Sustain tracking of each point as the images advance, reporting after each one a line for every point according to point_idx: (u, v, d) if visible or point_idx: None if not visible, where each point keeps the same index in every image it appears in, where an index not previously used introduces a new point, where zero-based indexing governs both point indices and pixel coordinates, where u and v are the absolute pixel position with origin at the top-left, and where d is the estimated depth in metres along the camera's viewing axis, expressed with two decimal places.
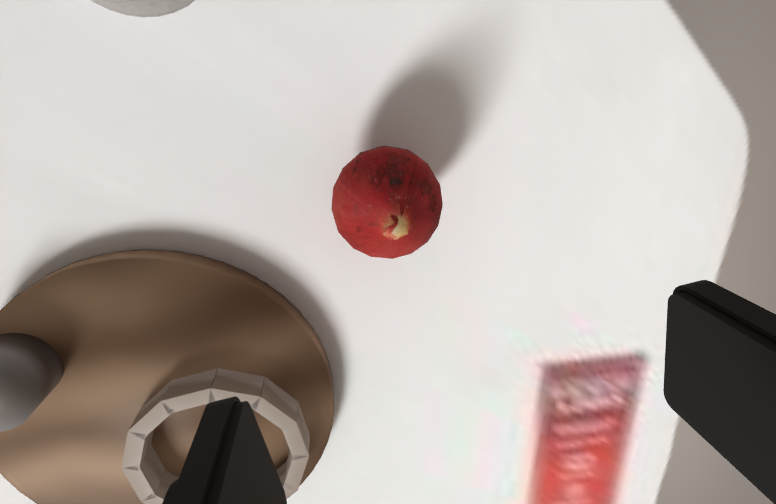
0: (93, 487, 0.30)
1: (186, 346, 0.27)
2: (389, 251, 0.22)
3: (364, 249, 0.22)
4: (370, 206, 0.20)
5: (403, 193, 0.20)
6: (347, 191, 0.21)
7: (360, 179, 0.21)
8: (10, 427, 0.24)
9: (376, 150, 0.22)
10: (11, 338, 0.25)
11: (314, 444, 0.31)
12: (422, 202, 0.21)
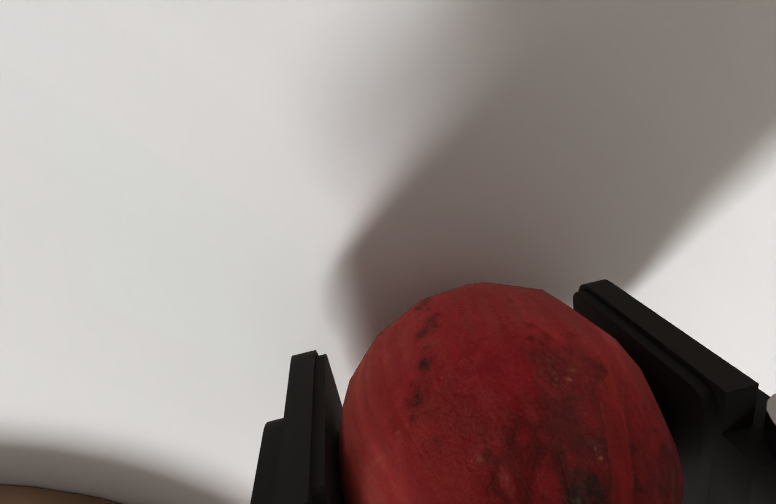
0: None
1: None
2: None
3: None
4: None
5: None
6: (393, 485, 0.06)
7: (443, 454, 0.06)
8: None
9: (481, 320, 0.07)
10: None
11: None
12: None
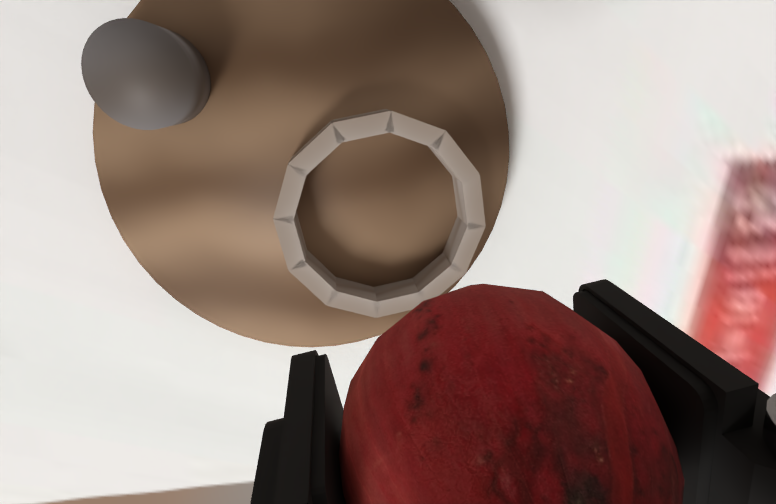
0: (223, 266, 0.25)
1: (355, 72, 0.22)
2: None
3: None
4: None
5: None
6: (393, 487, 0.06)
7: (443, 455, 0.06)
8: (162, 125, 0.19)
9: (482, 322, 0.07)
10: None
11: None
12: None
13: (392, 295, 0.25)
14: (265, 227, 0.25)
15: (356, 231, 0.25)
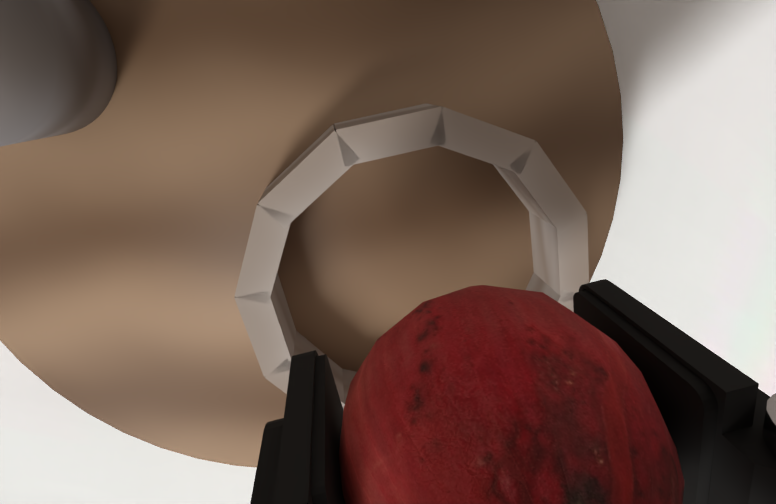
0: (160, 361, 0.16)
1: (374, 40, 0.13)
2: None
3: None
4: None
5: None
6: (393, 488, 0.06)
7: (443, 456, 0.06)
8: (1, 140, 0.10)
9: (482, 323, 0.07)
10: None
11: None
12: None
13: None
14: (226, 300, 0.15)
15: (374, 300, 0.16)
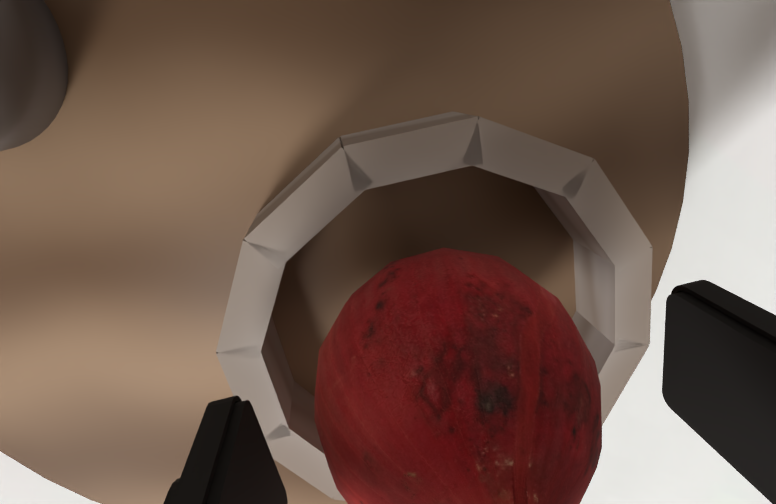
0: (132, 418, 0.13)
1: (390, 33, 0.10)
2: None
3: None
4: (412, 477, 0.06)
5: (523, 448, 0.06)
6: (346, 400, 0.07)
7: (386, 371, 0.07)
8: None
9: (431, 272, 0.08)
10: None
11: None
12: (574, 461, 0.07)
13: None
14: (210, 347, 0.13)
15: None
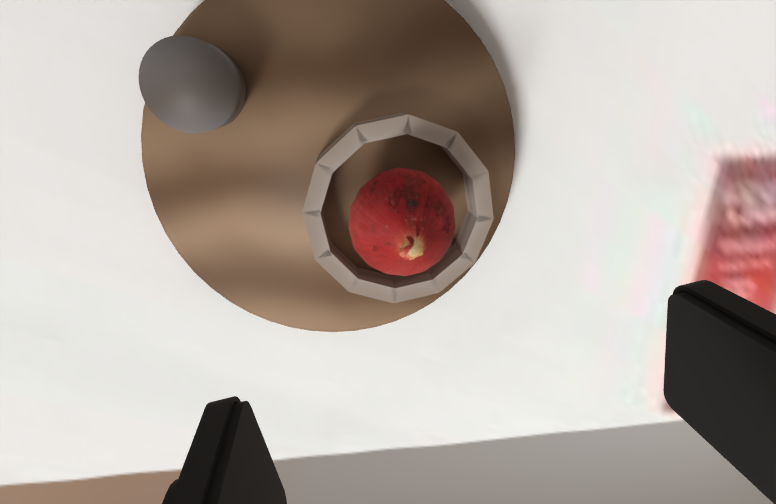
0: (254, 256, 0.28)
1: (375, 80, 0.25)
2: (403, 269, 0.22)
3: (379, 267, 0.23)
4: (386, 227, 0.21)
5: (419, 215, 0.21)
6: (364, 211, 0.22)
7: (378, 199, 0.22)
8: (207, 129, 0.22)
9: (393, 172, 0.23)
10: None
11: None
12: (437, 223, 0.21)
13: (408, 282, 0.28)
14: (292, 221, 0.27)
15: None
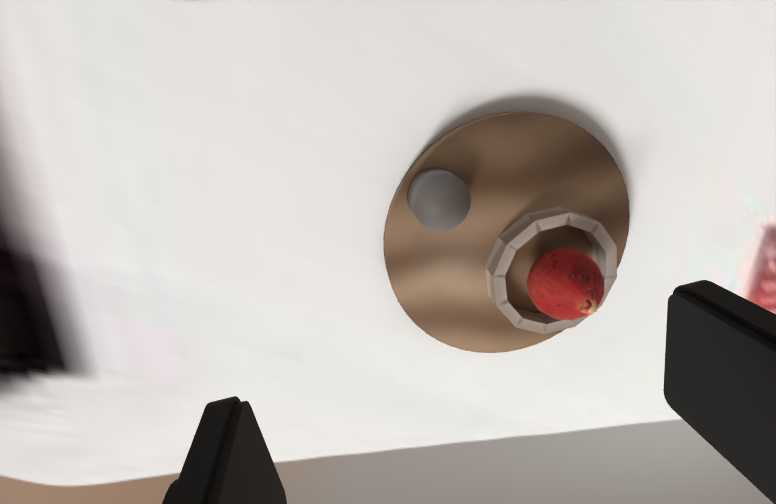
0: (447, 302, 0.40)
1: (542, 186, 0.37)
2: (573, 317, 0.34)
3: (556, 315, 0.35)
4: (570, 293, 0.33)
5: (591, 285, 0.33)
6: (551, 281, 0.34)
7: (561, 274, 0.34)
8: (449, 228, 0.34)
9: (564, 253, 0.35)
10: (441, 169, 0.35)
11: None
12: (600, 290, 0.33)
13: (553, 319, 0.40)
14: (476, 278, 0.39)
15: None
